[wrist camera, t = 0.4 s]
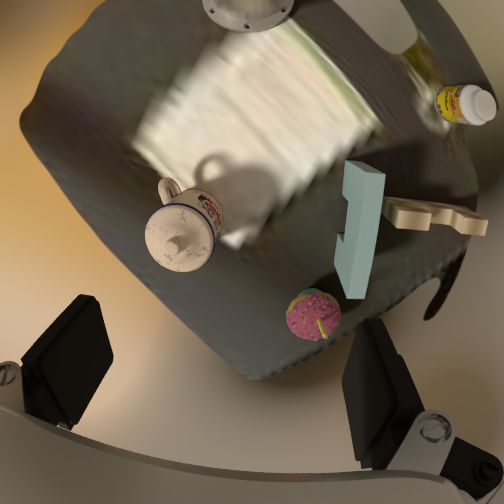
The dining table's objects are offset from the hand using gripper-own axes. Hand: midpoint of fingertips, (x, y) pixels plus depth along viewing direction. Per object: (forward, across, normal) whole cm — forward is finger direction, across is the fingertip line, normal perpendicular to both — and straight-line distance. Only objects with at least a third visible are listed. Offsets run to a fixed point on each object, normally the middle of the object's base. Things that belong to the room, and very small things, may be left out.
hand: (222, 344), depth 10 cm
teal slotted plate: (+35, -13, +4) cm, 37 cm away
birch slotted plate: (+34, -26, +2) cm, 43 cm away
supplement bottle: (+34, -28, -15) cm, 46 cm away
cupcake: (+35, -9, +20) cm, 41 cm away
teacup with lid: (+35, +10, +5) cm, 36 cm away
